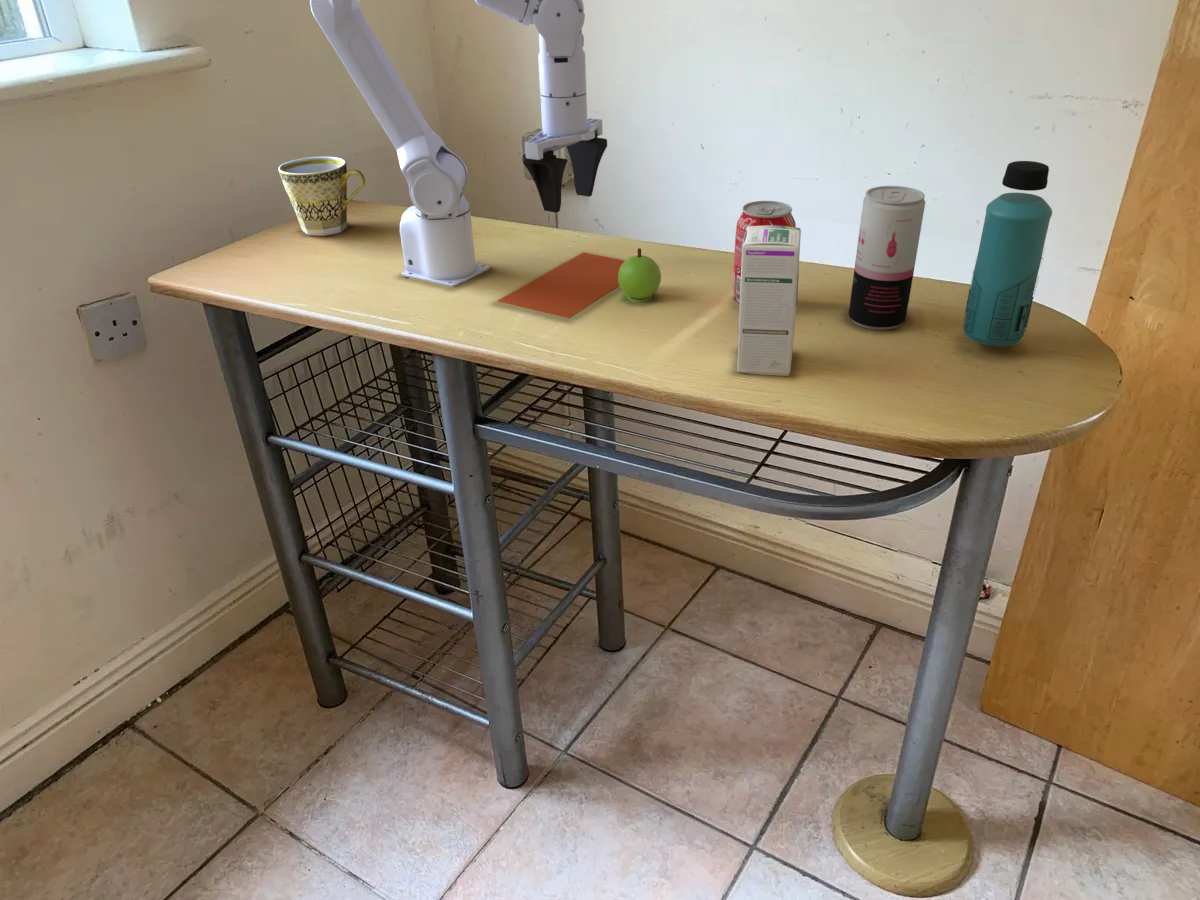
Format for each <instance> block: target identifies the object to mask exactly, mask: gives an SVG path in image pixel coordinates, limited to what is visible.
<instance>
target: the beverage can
mask: <svg viewBox="0 0 1200 900" xmlns="http://www.w3.org/2000/svg"><path fill="white" fill-rule="evenodd" d="M925 197H926V194H925V193H924V192H923V191H921V190H919V189H917V188H913V187H908V186H900V185H880V186H874V187H871V188H869V189H867V190H866V192H865V196H864V197H863V199H862V207H861V213H860V214H861V215H860V222H859V230H858V238H857V245H856V252H855V253H856V254H855V261H854V269H853V277H852V284H851V291H850V300H849V307H848V317H849V319H850V320H851V321H852V322H853V323H854V324H856V325H857V326H859V327H862V328H865V329H869V330H877V331H886V330H892V329H896V328H898V327H899V326H901V325H902V324H904V323H905V322H906V320H907V315H908V309H909V302H910V296H911V290H912V285H913V278H914V273H915V266H916V261H917V254H918V249H919V243H920V238H921V231H922V226H923V220H924V215H925V214H924V212H925V207H926V200H925Z"/></svg>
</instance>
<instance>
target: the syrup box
mask: <svg viewBox="0 0 1200 900" xmlns="http://www.w3.org/2000/svg"><path fill="white" fill-rule="evenodd" d="M801 235H802V229H801V228H800V227H789V226H775V225H772V226H769V225H767V226H747V229H746V233H745V236H744V239H743V244H742V264H741V285H740V304H739V310H738V335H737V357H736V359H737V360H736V371H737V372H738V373H743V374H749V375H762V376H763V375H764V376H779V377H781V376H782V377H785V376H786V377H789V376H790V373H791V368H792V363H793V351H794V339H795V327H796V317H797V307H798V306H797V305H798V293H799V292H798V291H799V276H800V275H799V273H800V252H801Z"/></svg>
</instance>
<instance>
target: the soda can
mask: <svg viewBox="0 0 1200 900" xmlns="http://www.w3.org/2000/svg"><path fill="white" fill-rule="evenodd" d="M792 211H793V208H792V206H791V205H790V204H788V203H785V202H782V201H775V200H757V201H756V200H755V201H750V202H748V203H745V204H744V205H743V206H742V212H741V214H740V215H739V217H738V219H737V221H736V227H735V238H734V253H733V270H732V271H733V274H732V293H733V295H732V296H733V300H734V301H735V302H736V303H737V304H739V305H740V285H741V264H742V244H743V239H744V236H745V233H746V229H747V226H767V225H769V226H772V225H775V226H789V227H796V226H797V225H796V220H795V218H794V216H793V213H792Z"/></svg>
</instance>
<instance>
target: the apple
mask: <svg viewBox="0 0 1200 900" xmlns="http://www.w3.org/2000/svg"><path fill="white" fill-rule="evenodd" d="M661 281H662V273H661V268H660V267H659V265H658V264H657V262H656V261H655V260H654V259H652V258H651V257H649V256H647V255H642V248H641V247H639V248H637V254H636V255H633V256H630V257H628V258H626V259H625V262H624V263H623V264H622V265H621V267H620V269H619V273H618V282H619V285H620V286H619V287H620V289H621V291H622V292H623V293H624V295H626V299H628V300H630V301H634V302H646V301H649V300H652V298H653V295H654V294H655V293H656V292H657V291H658V290H659V288H660V285H661Z"/></svg>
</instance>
